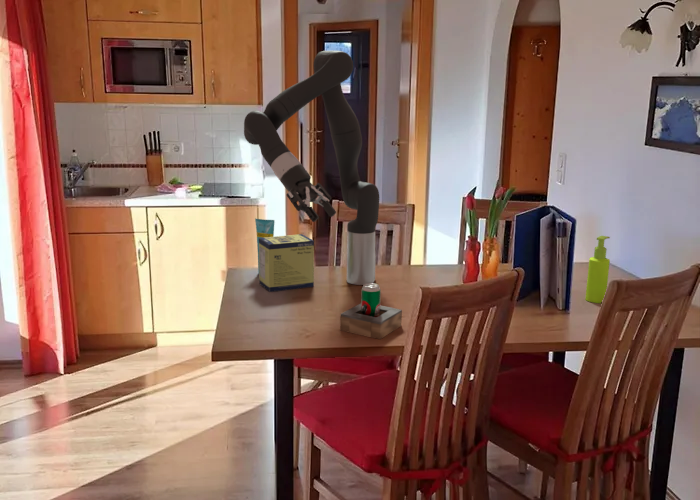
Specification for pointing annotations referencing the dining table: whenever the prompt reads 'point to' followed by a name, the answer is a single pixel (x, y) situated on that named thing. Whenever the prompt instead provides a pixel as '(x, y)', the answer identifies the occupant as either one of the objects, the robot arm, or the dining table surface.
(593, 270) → the soap dispenser
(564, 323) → the dining table surface
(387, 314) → the square holder
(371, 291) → the soda can
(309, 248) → the protein box
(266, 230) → the tube
